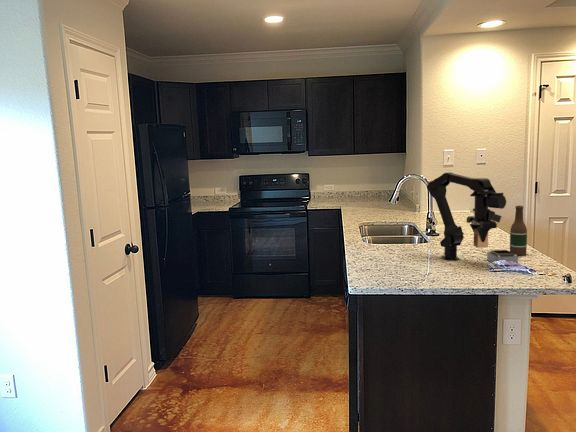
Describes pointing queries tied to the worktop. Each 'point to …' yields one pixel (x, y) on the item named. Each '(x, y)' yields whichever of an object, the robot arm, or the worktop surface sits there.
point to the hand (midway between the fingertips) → (480, 240)
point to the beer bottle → (518, 234)
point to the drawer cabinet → (501, 256)
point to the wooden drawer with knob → (479, 240)
